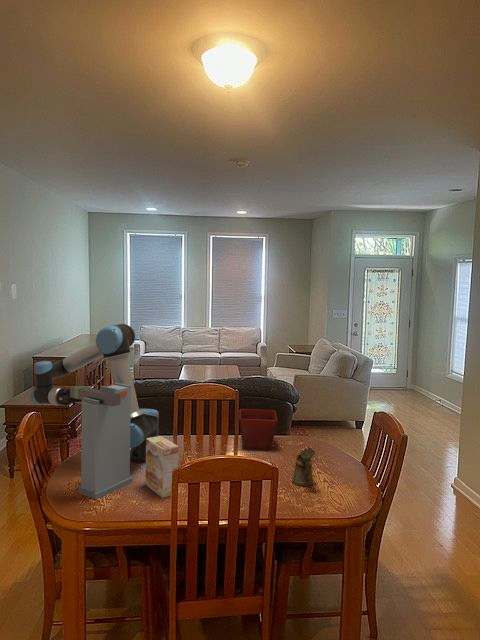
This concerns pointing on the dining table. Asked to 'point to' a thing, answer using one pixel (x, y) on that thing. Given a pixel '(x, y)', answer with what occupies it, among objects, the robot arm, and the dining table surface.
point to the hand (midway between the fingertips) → (99, 398)
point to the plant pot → (257, 428)
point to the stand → (105, 444)
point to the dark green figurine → (303, 468)
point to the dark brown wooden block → (95, 395)
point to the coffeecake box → (160, 464)
